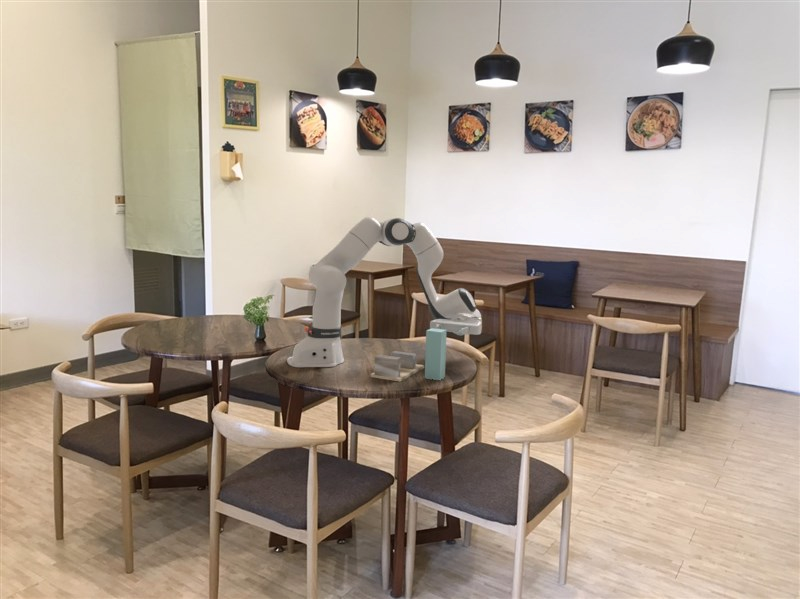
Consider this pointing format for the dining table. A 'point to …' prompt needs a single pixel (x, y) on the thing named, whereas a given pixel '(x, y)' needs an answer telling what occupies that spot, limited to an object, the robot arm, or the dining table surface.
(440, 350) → the teal block
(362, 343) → the dining table surface
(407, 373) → the vise base
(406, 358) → the block
